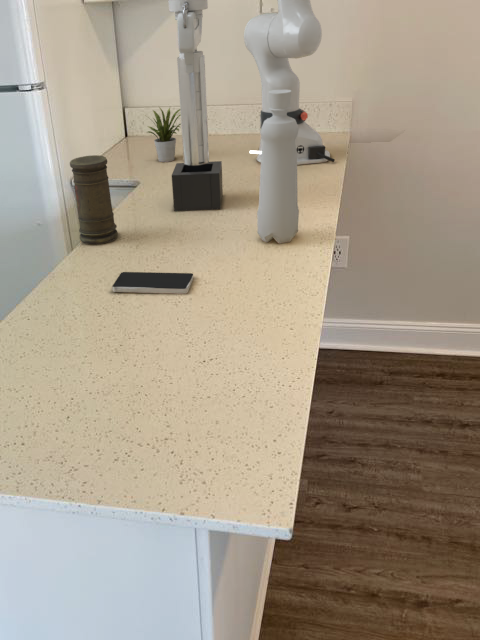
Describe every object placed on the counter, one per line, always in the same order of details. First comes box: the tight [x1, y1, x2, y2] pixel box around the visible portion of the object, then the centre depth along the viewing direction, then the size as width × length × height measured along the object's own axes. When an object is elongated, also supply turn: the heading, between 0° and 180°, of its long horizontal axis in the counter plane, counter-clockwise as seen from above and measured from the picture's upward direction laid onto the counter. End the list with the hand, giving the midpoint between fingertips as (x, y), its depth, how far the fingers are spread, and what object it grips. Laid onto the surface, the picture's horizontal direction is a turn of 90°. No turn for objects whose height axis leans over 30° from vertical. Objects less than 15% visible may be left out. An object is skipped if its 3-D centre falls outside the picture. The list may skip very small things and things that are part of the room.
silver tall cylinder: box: [176, 50, 210, 166], centre depth 165 cm, size 6×6×25 cm
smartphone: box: [111, 271, 194, 295], centre depth 134 cm, size 8×1×15 cm
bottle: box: [256, 90, 300, 244], centre depth 143 cm, size 9×9×30 cm
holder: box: [171, 160, 224, 212], centre depth 175 cm, size 12×12×9 cm
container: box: [69, 154, 119, 246], centre depth 155 cm, size 9×9×18 cm
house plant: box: [144, 106, 182, 163], centre depth 214 cm, size 14×14×16 cm
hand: (191, 69), depth 160 cm, fingers closed on silver tall cylinder, 6 cm apart
